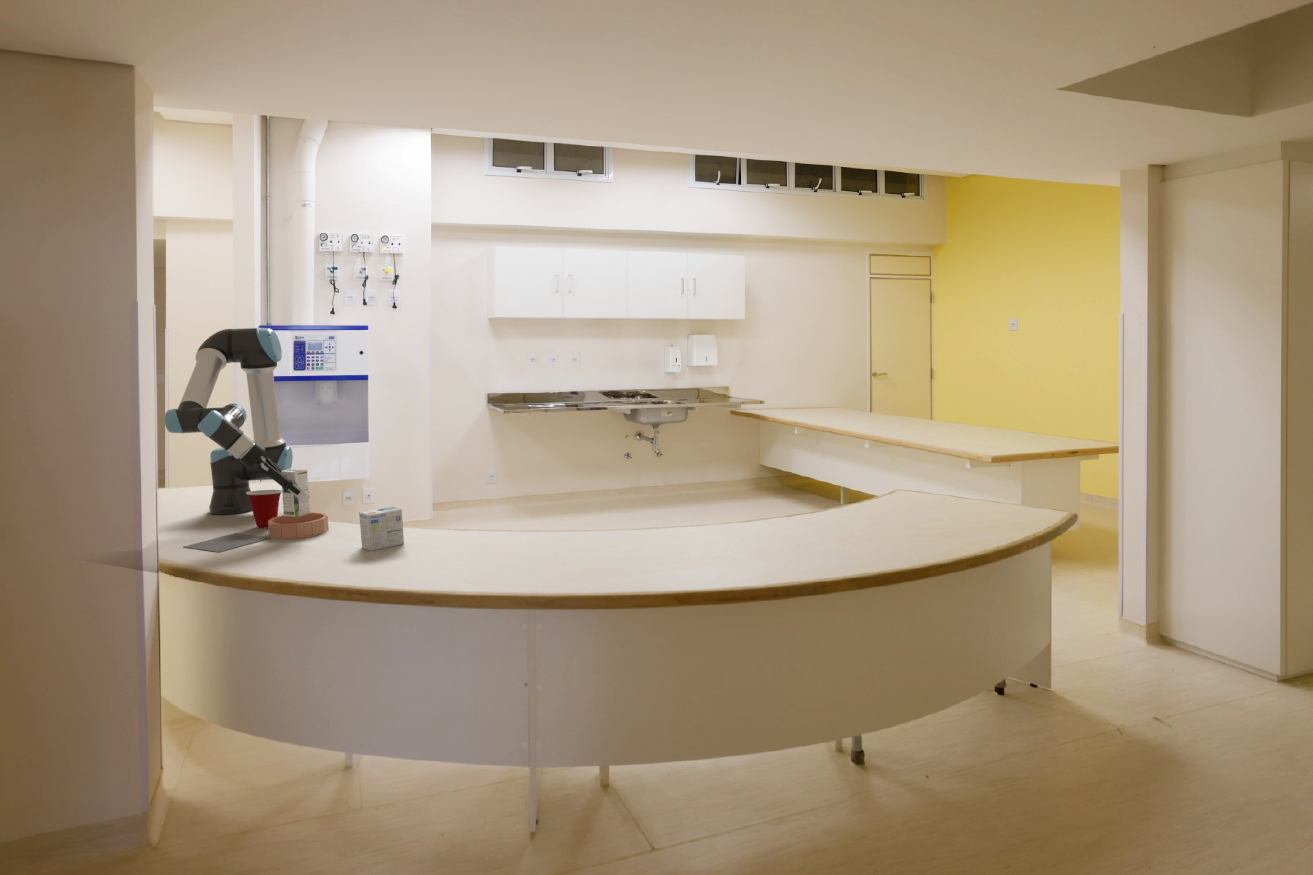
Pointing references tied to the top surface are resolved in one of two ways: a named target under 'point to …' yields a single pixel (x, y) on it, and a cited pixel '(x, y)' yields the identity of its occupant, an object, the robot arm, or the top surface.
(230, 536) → the rubber mat
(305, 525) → the ceramic bowl
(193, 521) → the top surface
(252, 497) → the plastic cup
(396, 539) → the light bulb box
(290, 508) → the syrup box
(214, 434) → the robot arm
